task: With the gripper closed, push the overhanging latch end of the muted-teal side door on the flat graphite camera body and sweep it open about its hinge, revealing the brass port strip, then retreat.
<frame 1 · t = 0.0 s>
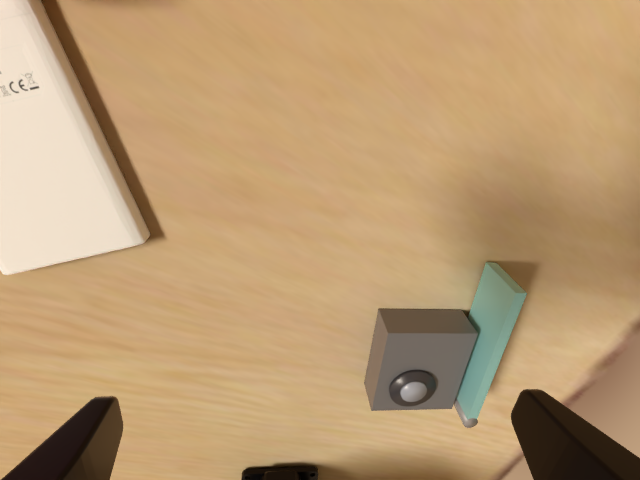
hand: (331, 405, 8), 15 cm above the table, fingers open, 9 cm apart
camera body: (410, 347, 28), on the table
side door: (481, 348, 26), point 2 cm above the table, hinge at 0.0°
external hard drive: (29, 143, 20), on the table
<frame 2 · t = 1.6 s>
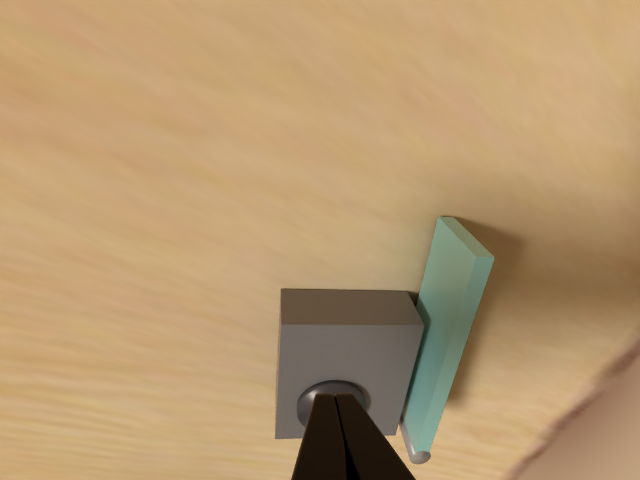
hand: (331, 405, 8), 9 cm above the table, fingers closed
camera body: (337, 347, 19), on the table
side door: (435, 347, 17), point 2 cm above the table, hinge at 0.0°
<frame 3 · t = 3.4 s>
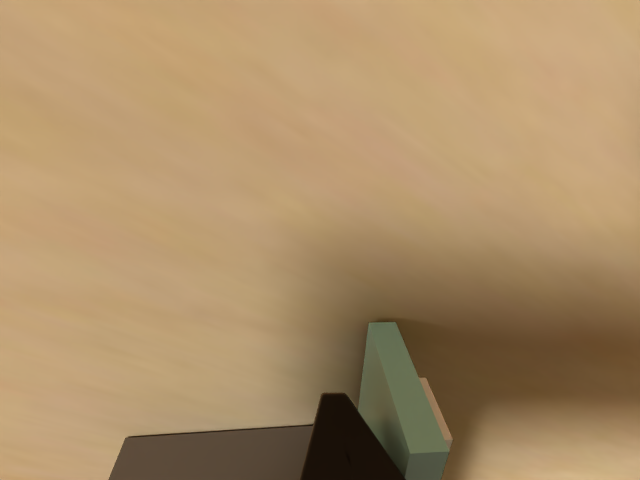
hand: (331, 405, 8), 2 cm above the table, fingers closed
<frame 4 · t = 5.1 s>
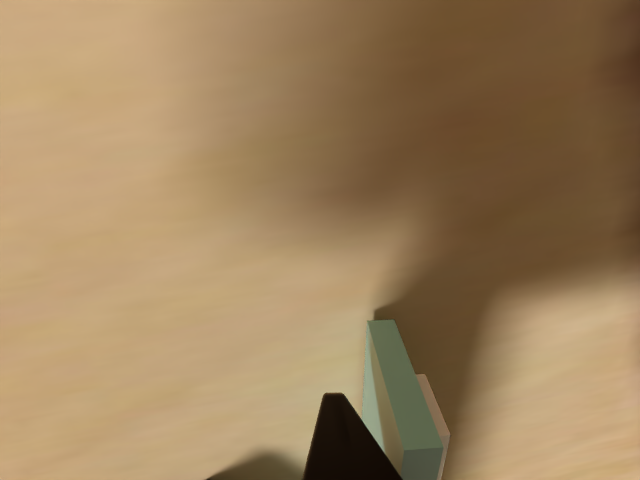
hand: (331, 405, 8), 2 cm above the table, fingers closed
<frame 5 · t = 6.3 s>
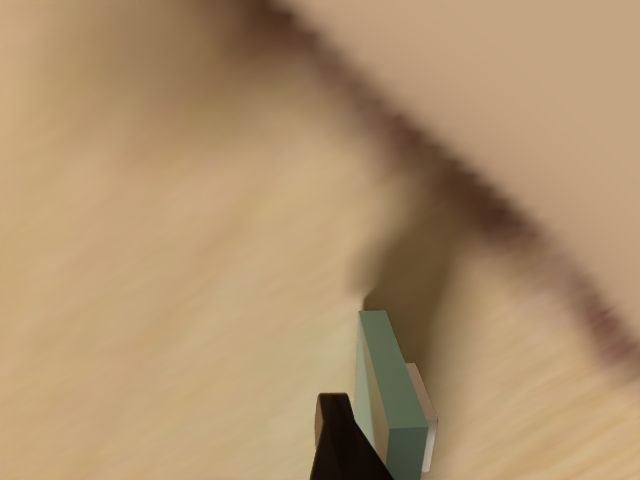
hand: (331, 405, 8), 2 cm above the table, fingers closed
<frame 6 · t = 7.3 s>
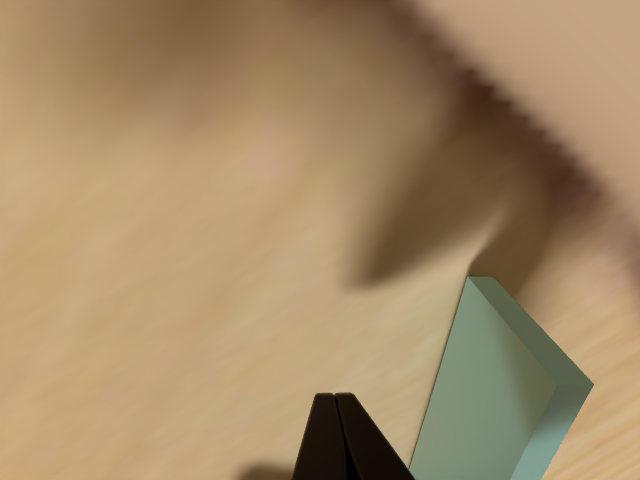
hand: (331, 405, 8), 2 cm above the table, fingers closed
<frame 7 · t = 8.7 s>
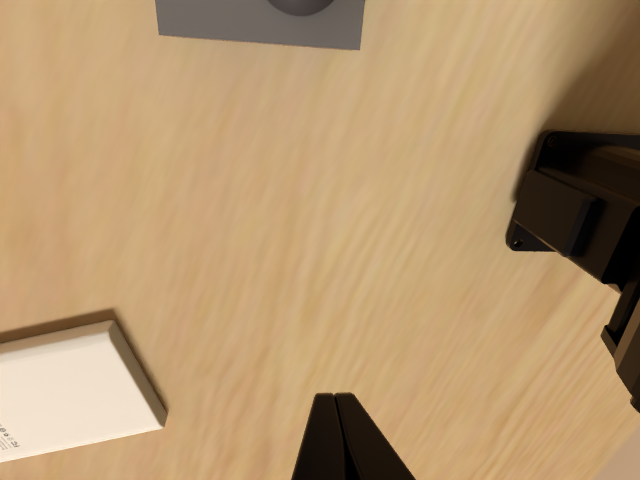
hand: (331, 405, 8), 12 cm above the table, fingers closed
external hard drive: (47, 384, 23), on the table
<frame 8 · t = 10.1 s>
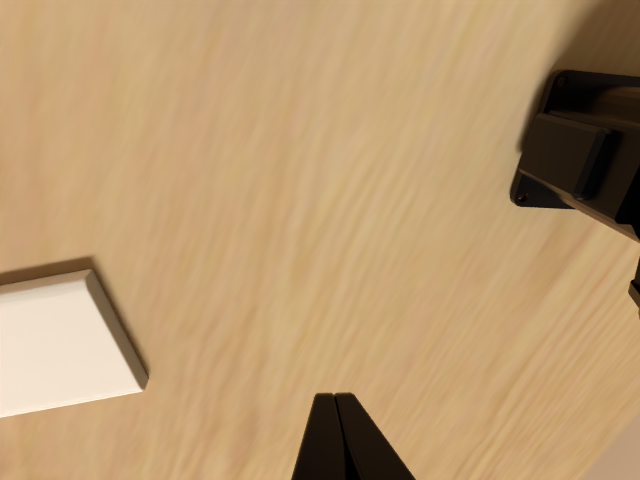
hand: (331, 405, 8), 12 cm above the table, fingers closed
external hard drive: (21, 340, 22), on the table
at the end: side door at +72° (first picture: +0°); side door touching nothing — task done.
